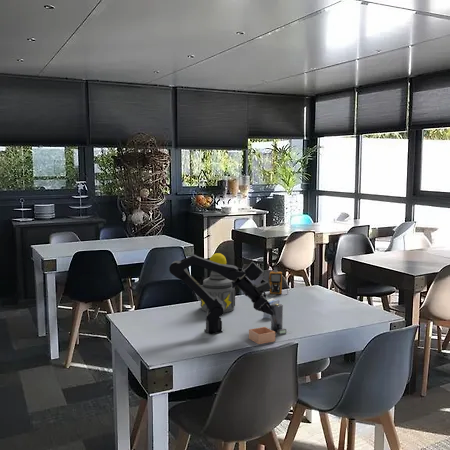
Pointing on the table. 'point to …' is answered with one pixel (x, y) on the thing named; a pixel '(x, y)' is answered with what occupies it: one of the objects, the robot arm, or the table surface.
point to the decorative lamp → (219, 286)
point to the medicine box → (271, 301)
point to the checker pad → (282, 331)
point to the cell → (277, 317)
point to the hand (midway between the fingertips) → (272, 311)
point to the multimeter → (276, 282)
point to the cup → (262, 335)
